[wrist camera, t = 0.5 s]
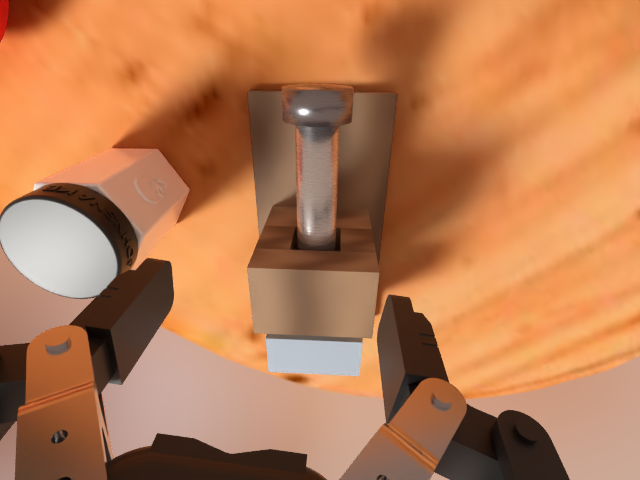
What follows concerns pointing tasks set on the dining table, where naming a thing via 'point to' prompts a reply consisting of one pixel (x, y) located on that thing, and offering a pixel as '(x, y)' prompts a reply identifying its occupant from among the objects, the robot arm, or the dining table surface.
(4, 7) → the tomato
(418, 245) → the dining table surface
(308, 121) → the shaft
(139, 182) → the jar
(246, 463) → the robot arm
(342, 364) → the block
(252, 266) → the bearing block
